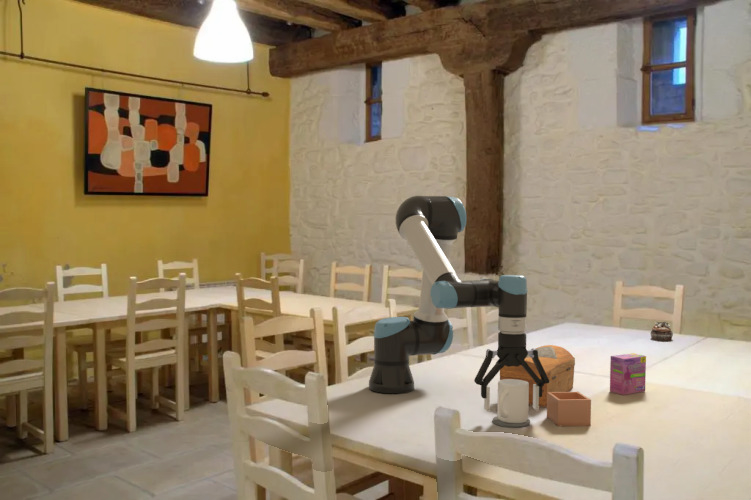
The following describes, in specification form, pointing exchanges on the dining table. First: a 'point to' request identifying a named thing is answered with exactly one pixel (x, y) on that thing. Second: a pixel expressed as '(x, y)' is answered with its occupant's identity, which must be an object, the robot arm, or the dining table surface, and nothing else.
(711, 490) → the dining table surface
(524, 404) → the mug
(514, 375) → the wooden box
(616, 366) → the box
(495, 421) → the slate coaster
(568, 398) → the planter
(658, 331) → the cupcake
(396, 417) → the dining table surface
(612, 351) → the dining table surface
